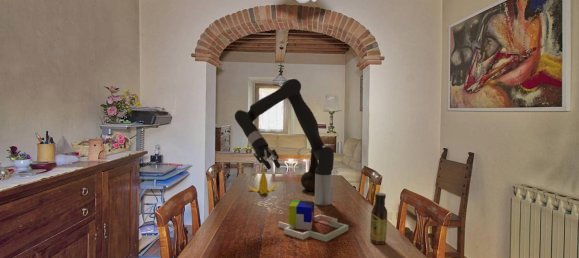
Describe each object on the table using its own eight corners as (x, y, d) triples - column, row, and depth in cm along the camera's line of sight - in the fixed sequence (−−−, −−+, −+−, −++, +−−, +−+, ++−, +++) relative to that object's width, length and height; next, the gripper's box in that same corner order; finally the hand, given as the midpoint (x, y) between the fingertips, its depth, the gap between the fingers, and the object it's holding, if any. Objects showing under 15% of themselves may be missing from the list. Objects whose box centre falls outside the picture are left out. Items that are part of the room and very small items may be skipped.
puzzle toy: (310, 230, 142) (311, 207, 141) (288, 227, 144) (289, 205, 143) (313, 222, 152) (314, 201, 151) (292, 220, 154) (293, 200, 153)
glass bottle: (329, 188, 224) (330, 148, 222) (323, 194, 207) (324, 150, 206) (304, 186, 229) (305, 146, 228) (297, 191, 213) (298, 149, 211)
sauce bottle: (367, 239, 132) (369, 191, 132) (382, 239, 133) (384, 191, 132) (373, 245, 126) (375, 195, 125) (388, 245, 126) (390, 195, 126)
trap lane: (271, 229, 141) (271, 224, 141) (307, 215, 162) (308, 211, 162) (319, 245, 125) (319, 239, 125) (353, 227, 146) (353, 222, 146)
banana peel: (265, 196, 198) (265, 169, 197) (247, 190, 212) (247, 165, 211) (285, 192, 209) (285, 167, 209) (266, 187, 223) (267, 163, 223)
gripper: (251, 137, 157) (268, 164, 150) (271, 136, 168) (288, 161, 161) (243, 147, 161) (260, 174, 154) (263, 145, 172) (280, 170, 165)
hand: (274, 167), depth 158 cm, fingers open, 6 cm apart
